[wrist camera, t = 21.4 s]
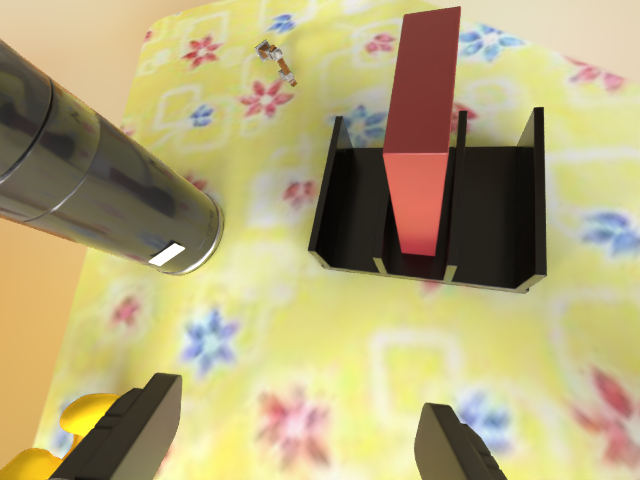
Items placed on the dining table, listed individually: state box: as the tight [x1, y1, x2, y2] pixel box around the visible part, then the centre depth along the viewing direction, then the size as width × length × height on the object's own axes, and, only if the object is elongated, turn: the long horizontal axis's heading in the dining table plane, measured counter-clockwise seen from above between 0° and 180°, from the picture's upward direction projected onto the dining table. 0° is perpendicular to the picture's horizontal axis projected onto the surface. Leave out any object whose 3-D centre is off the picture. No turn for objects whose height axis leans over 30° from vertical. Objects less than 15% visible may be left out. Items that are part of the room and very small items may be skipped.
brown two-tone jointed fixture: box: [254, 40, 297, 87], centre depth 37 cm, size 2×8×4 cm, turn 32°
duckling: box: [0, 393, 121, 480], centre depth 23 cm, size 11×5×10 cm, turn 171°
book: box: [382, 6, 461, 256], centre depth 20 cm, size 3×8×14 cm, turn 169°
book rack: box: [308, 107, 547, 294], centre depth 25 cm, size 16×12×6 cm
